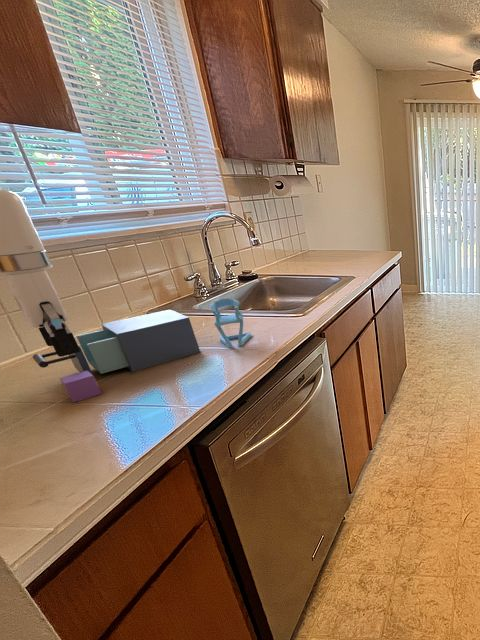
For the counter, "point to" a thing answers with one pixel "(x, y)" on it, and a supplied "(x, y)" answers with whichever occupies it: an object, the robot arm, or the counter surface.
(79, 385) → the purple cube
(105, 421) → the counter surface
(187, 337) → the grey drawer box
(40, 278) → the robot arm
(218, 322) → the chair
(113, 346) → the teal drawer
